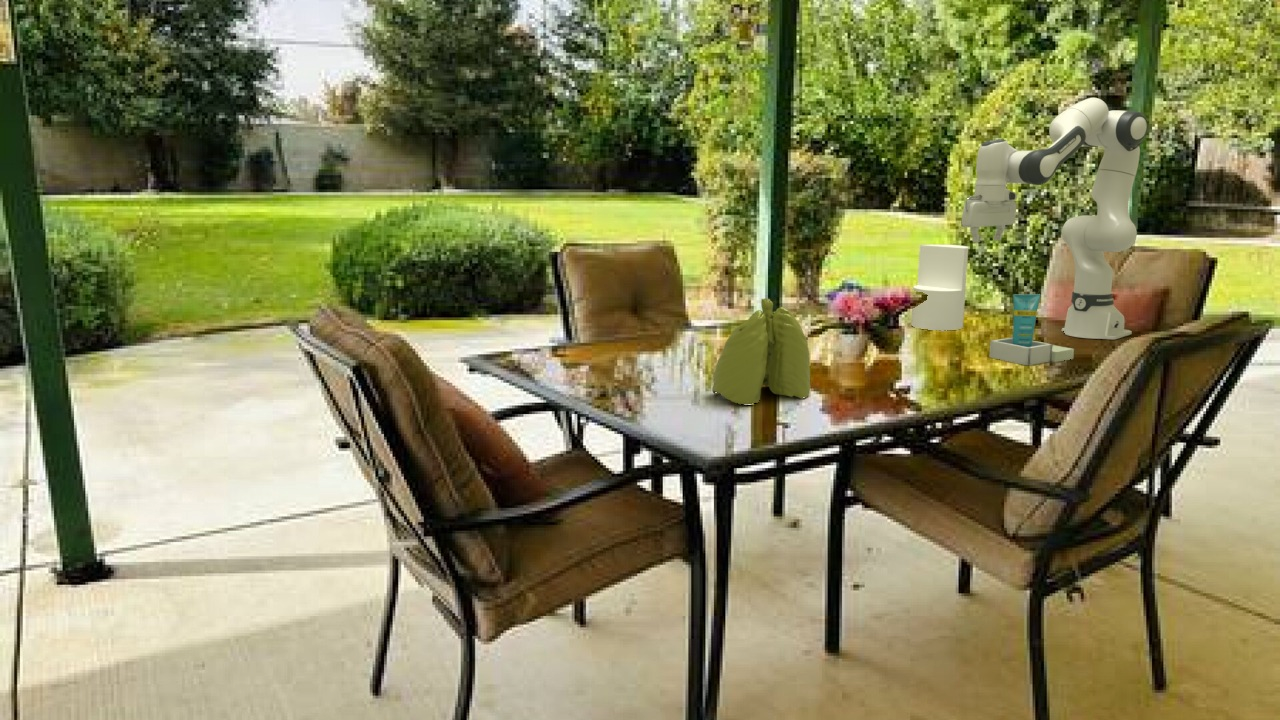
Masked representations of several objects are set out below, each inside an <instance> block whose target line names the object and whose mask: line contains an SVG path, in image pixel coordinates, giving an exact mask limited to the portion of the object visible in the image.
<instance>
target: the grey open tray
mask: <svg viewBox="0 0 1280 720" xmlns="http://www.w3.org/2000/svg"><path fill="white" fill-rule="evenodd" d="M989 344H990V345H989V346H990V347H989V355H988V357H989V358H990V357H991V358H990V359H994V358H995V360H999V359H1000V360H999V361H1004V360H1005V362H1008V361H1009V363H1012V364H1013V363H1014V364H1018V365H1023V366H1032V365H1037V364H1043V363H1045V364H1046V363H1048V362H1054V363H1059V362H1063V361H1064V360H1065V361H1070V359H1071V360H1074V356H1075V355H1074V352H1075V348H1071V347H1067V346H1066V347H1065V346H1060V345H1055V344H1053V343H1047V342H1041V341H1036V340H1032V347H1024V346H1019V345H1014V344H1013V336H1012V337H1007V338H1006V337H1005V338H1001V339H994V340H993V339H992V340H990V343H989Z"/></svg>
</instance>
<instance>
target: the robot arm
mask: <svg viewBox="0 0 1280 720" xmlns="http://www.w3.org/2000/svg"><path fill="white" fill-rule="evenodd" d="M1049 125H1050V126H1049V128H1048V129H1049V130H1048V131H1049V136H1050V139H1051V141H1052V144H1051V145H1050V146H1049V147H1047V148H1044V149H1034V150H1033V149H1032V150H1018V149H1016V148H1015V147H1013V146H1011V145H1010V144H1009V143H1008V141H1007V139H1003V138H999V139H998V138H997V139H996V138H995V139H990V140H985V141H984V142H982V143H981V144H980V146H979V148H978V151H977V157H976V166H975V167H976V168H975V172H976V180H975V183H974V194H973V195H970V196H968V198H967V199H966V200H965V203H964V205H963V209H962V215H961V225H962V227H963V228H970V230H969V231H970V233H971V236H972V243H980V242H982V241H981V237H982V235H979V231H980V228H984V227H996V228H995V229H996V232H995V234H993V238H992V239H993V241H1001V240H1002V237H1003V236H1002V235H1003V233H1004V232H1005V230H1006V226H1010V225H1011V226H1012V225H1013V224H1014V223H1015V220H1016V216H1017V203H1016V202H1015V201H1017V198H1018V194H1017V192H1014V191H1012V190H1010V189H1008V188H1007V184H1023V185H1024V184H1026V185H1027V184H1028V185H1035V186H1041V185H1044V184H1046V183H1048V182H1049V181H1050V180H1051V179H1052V177H1053V176H1054V175H1055V173H1056V172H1057V170H1058V169H1059V167H1060V166H1062V165H1063V164H1064V163H1065V162H1066V161H1067V160H1068V159H1069V158H1070V157H1071V156H1073V155H1075V153H1077V151H1078V150H1079V149H1080V148H1081V147H1082V146H1086V147H1087V146H1088V147H1100V148H1103V150H1104V151H1103V152H1104V154H1103V156H1102V158H1101V161H1100V163H1099V166H1098V169H1097V172H1096V176H1095V179H1094V181H1093V185H1092V189H1091V191H1090V195H1091V198H1092V199H1093V201H1095V202H1096V206H1097V212H1096V215H1089V214H1087V215H1086V214H1085V215H1084V214H1083V215H1077V216H1074V217H1070V218H1068V219H1067V220H1066V221H1065V223H1064V224H1063V226H1062V230H1061V236H1062V240H1063V242H1064V243H1065V244H1066V245H1067V246H1068V248H1069V250H1070V252H1071V255H1072V259H1073V262H1074V283H1073V291H1072V293H1071V297H1070V302H1071V305H1070V306H1069V307H1068V308H1067V313H1066V317H1065V324H1064V327H1062V328H1061V332H1063V331H1064V332H1063V333H1065V334H1064V335H1066V336H1070V337H1074V338H1082V339H1093V340H1094V339H1097V340H1100V339H1102V340H1118V339H1121V338H1124V337H1127V336H1130V335H1132V334H1133V333H1132V330H1129V329H1125V323H1126V322H1125V316H1124V315H1123V313H1121V312H1120V310H1119V309H1117V308H1116V306H1115V305H1114V301H1118V300H1119V296H1120V295H1119V294H1118V293H1112V289H1113V287H1112V286H1113V278H1114V269H1113V267H1112V266H1111V265H1110V264H1109V263H1108V262H1107V259H1106V258H1105V257H1106V256H1105V253H1104V252H1107V253H1114V252H1115V253H1116V252H1122V251H1127V250H1128V249H1130V248H1131V247H1132V246H1134V244H1135V242H1136V240H1137V235H1138V231H1137V228H1136V227H1137V226H1136V225H1135V223H1134V222H1133V221H1132V219H1131V217H1130V213H1129V211H1130V210H1129V202H1130V197H1131V193H1132V189H1133V185H1134V182H1135V178H1136V175H1137V172H1138V167H1139V162H1140V156H1141V155H1140V154H1141V149H1140V145H1141V144H1142V142H1143V140H1144V139H1145V137H1146V135H1147V132H1148V127H1149V125H1148V120H1147V118H1146V116H1145V114H1144V113H1143V112H1139V111H1136V110H1118V109H1117V110H1114V109H1113V110H1110V109H1109V107H1108V105H1107V103H1106V102H1105V101H1103V100H1102V99H1101V98H1097V97H1088V98H1086V99H1082V100H1081V101H1079V102H1076V103H1075V104H1073V105H1072V106H1069V107H1068V108H1066V109H1065V110H1064V111H1062V112H1060V113H1059V114H1058V115H1057V116H1056V117H1054V119H1053V120H1052V121H1051V122H1050V124H1049Z"/></svg>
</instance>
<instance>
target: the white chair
mask: <svg viewBox="0 0 1280 720" xmlns="http://www.w3.org/2000/svg"><path fill="white" fill-rule="evenodd" d="M968 256H969V246H967V245H958V244H919V251H918V267H917V269H918V271H917V272H918V273H917V285H913V286H912V287H913V288H912V291H913V290H914V291H918V292H923V293H925V294H927V295H928V296H927V300H926V301H924V302H923V303H921V304H920V305H918V306H917V307H915V308H913V309H912V308H911V317H910V318H911V319H910V321H911V322H910V326H911V325H912V326H914V327H917V328H921V329H928V330H941V331H940V332H948V331H947V330H957V329H961V328H963V329H964V317H965V316H964V314H965V303H966V301H965V300H966V288H967V285H966V284H967V273H968V259H969V257H968ZM944 330H946V331H944ZM961 330H962V329H961ZM957 331H958V330H957Z"/></svg>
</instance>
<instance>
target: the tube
mask: <svg viewBox="0 0 1280 720" xmlns="http://www.w3.org/2000/svg"><path fill="white" fill-rule="evenodd" d="M1012 298H1013V321H1012V322H1013V323H1012V326H1013V327H1012V337H1013V344H1014V345H1019V346H1024V347H1032V341H1034V340H1033V339H1034V331H1035V325H1036V319H1037V313H1038V310H1039V308H1038V307H1039V303H1040V298H1041V294H1040V293H1039V294H1038V293H1034V294H1031V293H1029V294H1016V293H1015V294H1014V293H1013V295H1012Z"/></svg>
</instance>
